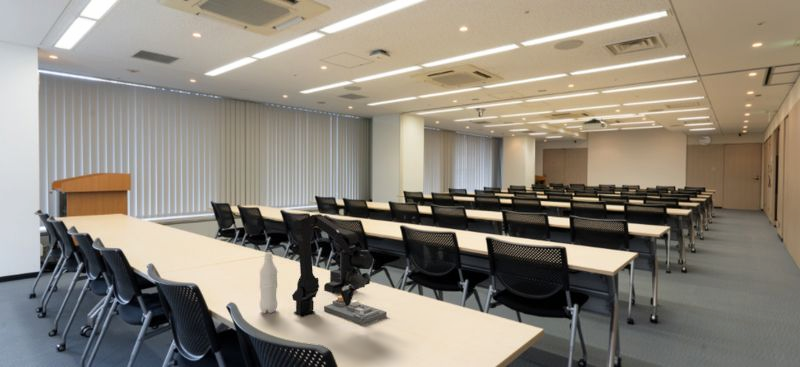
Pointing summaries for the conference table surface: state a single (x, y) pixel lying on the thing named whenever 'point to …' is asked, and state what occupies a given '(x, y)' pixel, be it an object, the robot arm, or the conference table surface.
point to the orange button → (340, 299)
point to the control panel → (349, 312)
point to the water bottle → (268, 285)
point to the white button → (355, 303)
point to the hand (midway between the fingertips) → (347, 305)
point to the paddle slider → (359, 312)
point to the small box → (335, 276)
